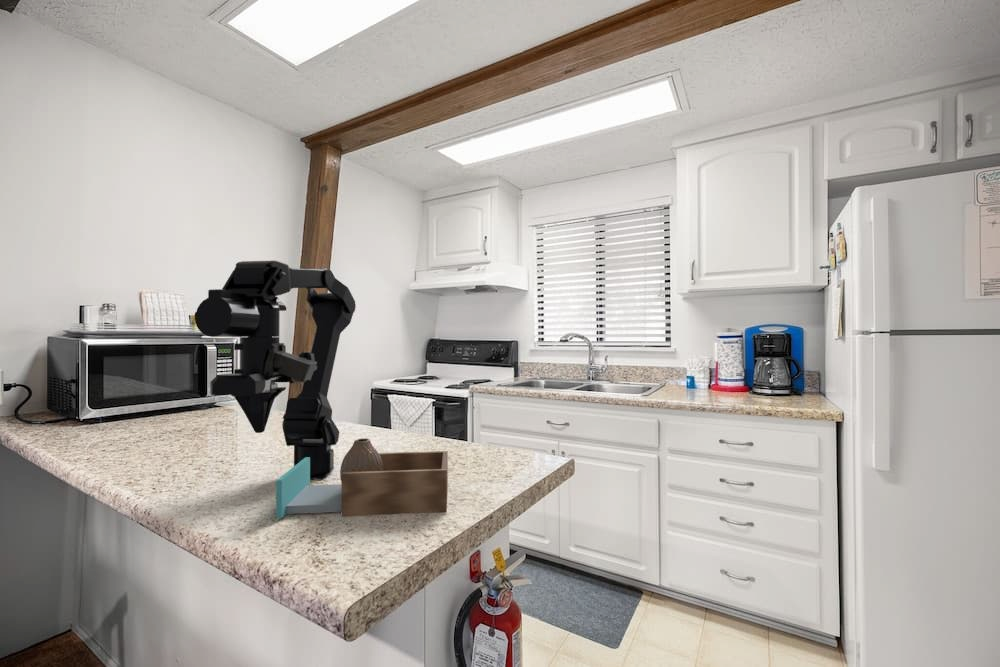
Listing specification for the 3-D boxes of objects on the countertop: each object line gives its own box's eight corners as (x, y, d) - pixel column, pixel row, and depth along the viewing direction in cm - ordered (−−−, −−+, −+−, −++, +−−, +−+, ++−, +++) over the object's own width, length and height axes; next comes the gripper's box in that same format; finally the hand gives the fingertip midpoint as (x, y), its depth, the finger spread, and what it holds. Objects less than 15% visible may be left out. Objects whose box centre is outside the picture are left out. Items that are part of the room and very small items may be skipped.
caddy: (341, 516, 67) (341, 473, 67) (358, 489, 79) (358, 453, 79) (446, 511, 69) (446, 470, 69) (447, 486, 81) (447, 451, 81)
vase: (376, 500, 70) (376, 444, 70) (333, 499, 70) (333, 444, 70) (388, 485, 77) (388, 435, 77) (349, 485, 77) (349, 435, 77)
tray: (276, 518, 66) (276, 480, 66) (305, 489, 78) (305, 457, 79) (384, 513, 67) (384, 476, 67) (395, 485, 80) (395, 454, 80)
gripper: (290, 336, 63) (289, 444, 63) (327, 337, 82) (327, 420, 82) (208, 337, 62) (207, 447, 62) (264, 337, 81) (264, 422, 81)
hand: (259, 432), depth 72 cm, fingers closed
